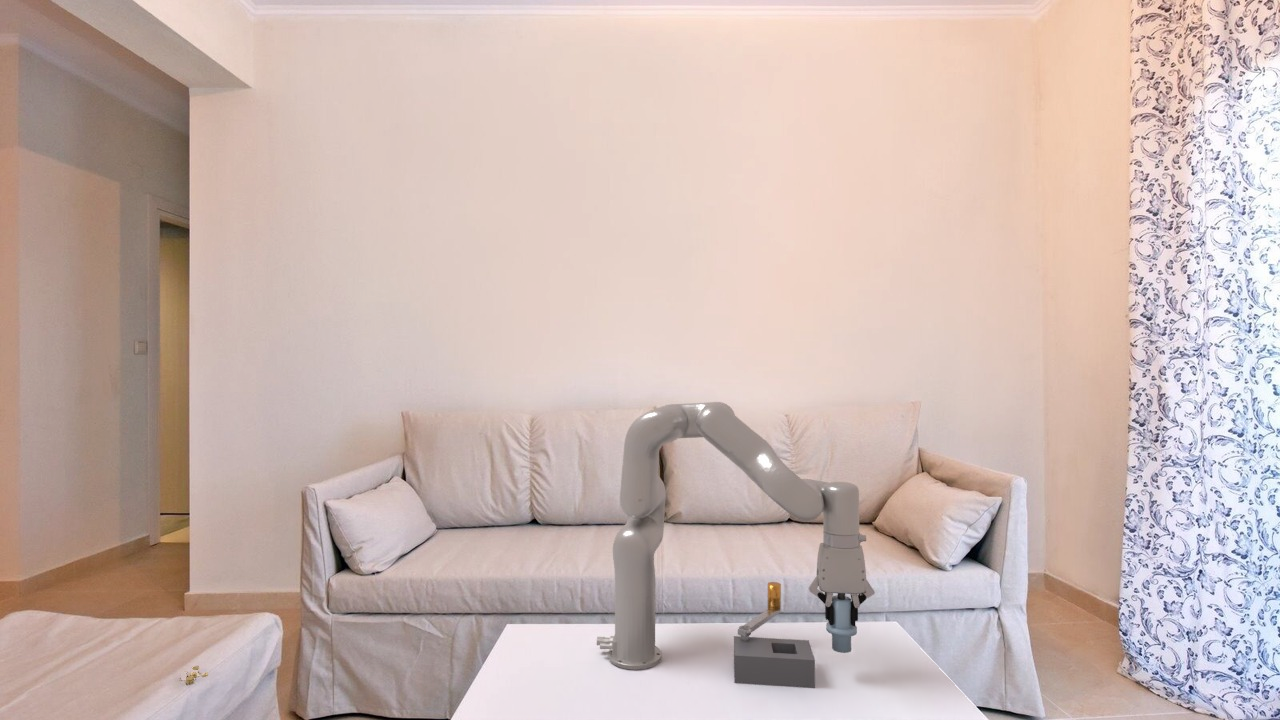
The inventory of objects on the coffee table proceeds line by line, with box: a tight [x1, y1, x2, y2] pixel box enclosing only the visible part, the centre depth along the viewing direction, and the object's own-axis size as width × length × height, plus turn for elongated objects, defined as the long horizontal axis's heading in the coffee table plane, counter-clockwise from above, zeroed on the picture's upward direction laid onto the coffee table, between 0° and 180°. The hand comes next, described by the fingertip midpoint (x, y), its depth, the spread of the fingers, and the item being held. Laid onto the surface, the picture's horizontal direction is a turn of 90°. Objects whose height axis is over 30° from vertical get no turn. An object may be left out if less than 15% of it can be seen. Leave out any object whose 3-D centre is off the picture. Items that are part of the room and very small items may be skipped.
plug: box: [825, 593, 858, 654], centre depth 144 cm, size 6×6×14 cm
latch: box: [737, 581, 782, 637], centre depth 157 cm, size 18×3×7 cm, turn 143°
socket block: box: [733, 635, 816, 689], centre depth 147 cm, size 17×10×7 cm, turn 83°
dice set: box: [185, 665, 209, 686], centre depth 145 cm, size 5×5×2 cm
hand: (841, 622), depth 144 cm, fingers closed on plug, 4 cm apart
